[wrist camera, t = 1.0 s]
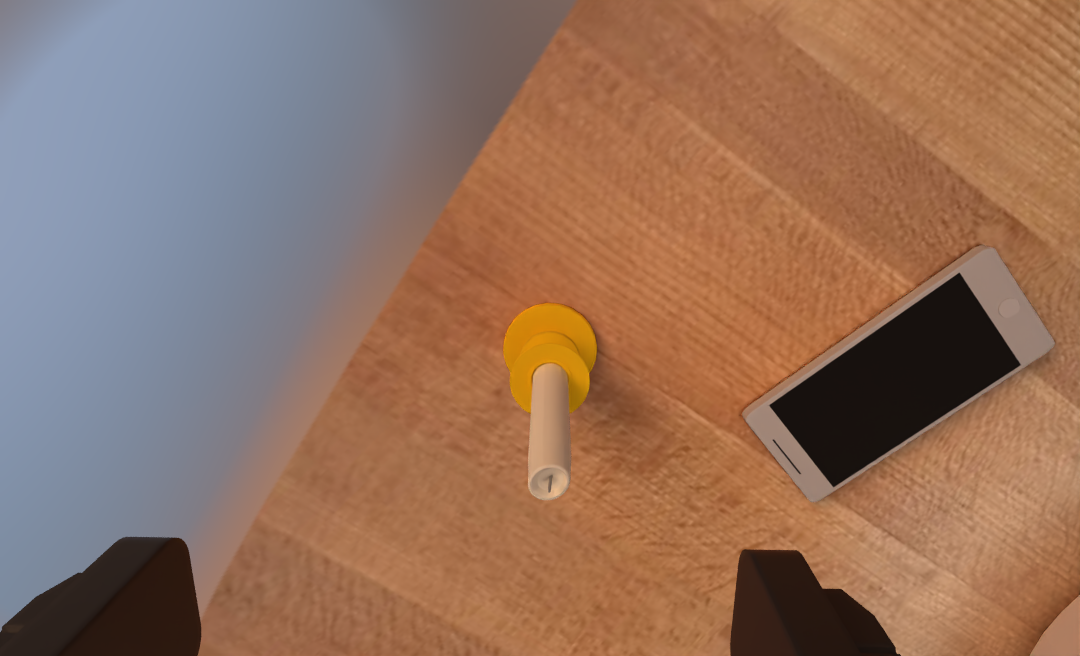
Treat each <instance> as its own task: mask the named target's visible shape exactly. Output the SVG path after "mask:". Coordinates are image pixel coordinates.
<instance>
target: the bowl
mask: <svg viewBox="0 0 1080 656" xmlns="http://www.w3.org/2000/svg"><path fill="white" fill-rule="evenodd" d="M1030 656H1080V595H1079V596H1078V597H1077V598H1076V599H1075V600H1073V601H1072V602H1071V603H1070V604H1069V605H1068V606H1067V607H1066V608H1065V609H1064V610H1063V611H1062V612H1061V613H1060V614H1059V615H1058V616H1057V617H1056V619H1055V620H1054V621H1053V622H1052V623H1051V624H1050V626H1049V627H1048V628H1047V629H1046V630H1045V631H1044V633H1043V634H1042V636H1041V638H1040V639H1039V641H1038V642H1037V644H1036V645H1035V647H1034V649H1033V650H1032V652H1031V654H1030Z"/></svg>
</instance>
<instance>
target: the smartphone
mask: <svg viewBox="0 0 1080 656" xmlns="http://www.w3.org/2000/svg"><path fill="white" fill-rule="evenodd" d="M1054 344H1055V342H1054V340H1053V338H1052V337H1051V335H1050V334H1049V332H1048V331H1047V329H1046V328H1045V326H1044V324H1043V323H1042V321H1041V320H1040V318H1039V317H1038V315H1037V314H1036V312H1035V310H1034V309H1033V307H1032V306H1031V304H1030V303H1029V301H1028V300H1027V298H1026V296H1025V295H1024V293H1023V292H1022V290H1021V289H1020V287H1019V286H1018V284H1017V283H1016V281H1015V279H1014V278H1013V276H1012V275H1011V273H1010V272H1009V270H1008V269H1007V267H1006V265H1005V264H1004V262H1003V261H1002V259H1001V258H1000V256H999V255H998V253H997V251H996V250H995V249H994V248H992V247H989V246H985V245H980V246H977V247H975V248H973V249H971V250H970V251H968V252H967V253H966V254H964V255H963V256H961V257H960V258H959V259H957V260H956V261H954V262H953V263H951V264H950V265H949V266H947V267H946V268H944V269H943V270H941V271H940V272H939V273H937V274H936V275H934V276H933V277H931V278H930V279H929V280H927V281H926V282H924V283H923V284H921V285H920V286H919V287H917V288H916V289H914V290H913V291H911V292H910V293H909V294H907V295H906V296H904V297H903V298H901V299H900V300H899V301H897V302H896V303H894V304H893V305H891V306H890V307H889V308H887V309H886V310H884V311H883V312H882V313H880V314H879V315H877V316H876V317H874V318H873V319H872V320H870V321H869V322H867V323H866V324H864V325H863V326H862V327H860V328H859V329H857V330H856V331H854V332H853V333H852V334H850V335H849V336H847V337H846V338H844V339H843V340H842V341H840V342H839V343H837V344H836V345H834V346H833V347H832V348H830V349H829V350H827V351H826V352H824V353H823V354H822V355H820V356H819V357H817V358H816V359H814V360H813V361H812V362H810V363H809V364H807V365H806V366H805V367H803V368H802V369H800V370H799V371H797V372H796V373H795V374H793V375H792V376H790V377H789V378H787V379H786V380H785V381H783V382H782V383H780V384H779V385H777V386H776V387H775V388H773V389H772V390H770V391H769V392H767V393H766V394H765V395H763V396H762V397H760V398H759V399H757V400H756V401H755V402H753V403H752V404H750V405H749V406H748V407H747V408H745V410H744V411H743V413H742V417H743V418H744V420H745V421H746V422H747V424H748V425H749V426H750V427H751V429H752V430H753V431H754V432H755V434H756V435H757V436H758V437H759V439H760V440H761V441H762V442H763V444H764V445H765V446H766V447H767V449H768V450H769V451H770V452H771V454H772V455H773V456H774V457H775V459H776V460H777V461H778V462H779V464H780V465H781V466H782V467H783V469H784V470H785V471H786V472H787V474H788V475H789V476H790V477H791V479H792V480H793V481H794V482H795V483H796V485H797V486H798V487H799V488H800V490H801V491H802V492H803V493H804V495H805V496H806V497H807V498H808V500H809V501H810V502H817V501H819V500H821V499H823V498H825V497H826V496H828V495H829V494H831V493H832V492H834V491H835V490H837V489H838V488H840V487H841V486H843V485H845V484H846V483H848V482H849V481H851V480H852V479H854V478H855V477H857V476H858V475H860V474H861V473H863V472H864V471H866V470H868V469H869V468H871V467H872V466H874V465H875V464H877V463H878V462H880V461H881V460H883V459H884V458H886V457H888V456H889V455H891V454H892V453H894V452H895V451H897V450H898V449H900V448H901V447H903V446H904V445H906V444H907V443H909V442H911V441H912V440H914V439H915V438H917V437H918V436H920V435H921V434H923V433H924V432H926V431H927V430H929V429H931V428H932V427H934V426H935V425H937V424H938V423H940V422H941V421H943V420H944V419H946V418H947V417H949V416H950V415H952V414H954V413H955V412H957V411H958V410H960V409H961V408H963V407H964V406H966V405H967V404H969V403H970V402H972V401H974V400H975V399H977V398H978V397H980V396H981V395H983V394H984V393H986V392H987V391H989V390H990V389H992V388H993V387H995V386H997V385H998V384H1000V383H1001V382H1003V381H1004V380H1006V379H1007V378H1009V377H1010V376H1012V375H1013V374H1015V373H1017V372H1018V371H1020V370H1021V369H1023V368H1024V367H1026V366H1027V365H1029V364H1030V363H1032V362H1033V361H1035V360H1036V359H1038V358H1040V357H1041V356H1043V355H1044V354H1046V353H1047V352H1048V351H1050V350H1051V349H1052V347H1053V346H1054Z"/></svg>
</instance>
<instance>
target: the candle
mask: <svg viewBox="0 0 1080 656" xmlns="http://www.w3.org/2000/svg"><path fill="white" fill-rule="evenodd" d="M503 354H504V358H505V363H506V365H507V367H508V369H509V371H510V387H511V392H512V395H513V397H514V398H515V400H516V402H517V403H518V404H519V405H520V406H521V407H522V409H523V410H525V411H527V412H528V413H530V414H531V419H530V437H529V455H528V488H529V490H530V492H531V494H532V495H533V496H535V497H536V498H538V499H541V500H552V499H556V498H558V497H560V496H561V495H562V494H564V493H565V491H566V490H567V489H568V486H569V484H570V474H571V440H570V417H569V414H570V413H572V412H573V411H575V410H576V409H577V408H578V407H579V406H580V405H581V404H582V403H583V401H584V400H585V398H586V396H587V393H588V391H589V384H590V377H589V373H590V372H591V370H592V368H593V366H594V363H595V361H596V354H597V344H596V338H595V334H594V331H593V329H592V327H591V325H590V323H589V322H588V321H587V320H586V319H585V318H584V316H583V315H582V314H580V313H579V312H577V311H576V310H574V309H573V308H571V307H568V306H565V305H562V304H558V303H543V304H538V305H534V306H532V307H530V308H528V309H525V310H524V311H523V312H521V313H520V314H519V315H518V316H517V317H515V319H514V320H513V321H512V323H511V324H510V326H509V327H508V330H507V333H506V335H505V338H504V347H503Z"/></svg>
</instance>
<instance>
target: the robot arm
mask: <svg viewBox="0 0 1080 656" xmlns="http://www.w3.org/2000/svg"><path fill="white" fill-rule="evenodd" d="M200 642H201V622H200V617H199V610H198V604H197V598H196V592H195V586H194V580H193V573H192V567H191V561H190V556H189V550H188V547H187V545H186V544H185V542H184V541H183V540H182V539H180V538H162V537H158V538H157V537H125V538H122V539H120V540H118V541H117V542H115V543H114V544H113V545H112V546H111V547H110V548H109V549H108V550H107V551H105V552H104V553H103V554H102V555H101V556H100V557H99V558H98V559H97V560H96V561H95V562H93V563H92V564H91V565H90V566H89V567H88V568H87V569H86V570H85V571H84V572H83V573H77V574H75V575H73V576H72V577H70V578H68V579H67V580H65V581H63V582H61V583H60V584H58V585H56V586H55V587H53V588H51V589H49V590H47V591H46V592H44V593H43V594H40V595H39V596H37V597H35V598H34V599H33V600H32V601H31V602H30V603H29V604H27V605H26V606H25V607H24V608H23V609H22V610H21V611H19V612H18V613H17V614H16V615H15V616H14V617H13V618H12V619H10V620H9V621H8V622H7V623H6V624H5V625H4V626H3V627H2V631H1V632H0V656H197V655H198V652H199V648H200ZM730 651H731V656H901V655H900V654H897V653H896V650H895V646H894V645H893V643H892V642H891V640H890V639H889V637H888V636H887V634H886V633H885V631H884V630H883V628H882V627H881V625H880V624H879V622H878V621H877V619H876V618H875V616H874V615H873V614H871V613H870V612H869V611H868V610H866V609H865V608H864V607H863V606H862V605H860V604H859V603H858V602H857V601H855V600H854V599H853V598H852V597H850V596H849V595H848V594H847V593H845V592H844V591H843V590H842V589H822V587H821V586H820V584H819V582H818V581H817V579H816V577H815V576H814V574H813V572H812V571H811V569H810V567H809V565H808V564H807V562H806V560H805V559H804V557H803V556H802V554H801V553H800V552H799V551H797V550H743V551H742V552H741V555H740V558H739V563H738V572H737V582H736V592H735V601H734V611H733V621H732V630H731V642H730Z"/></svg>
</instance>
